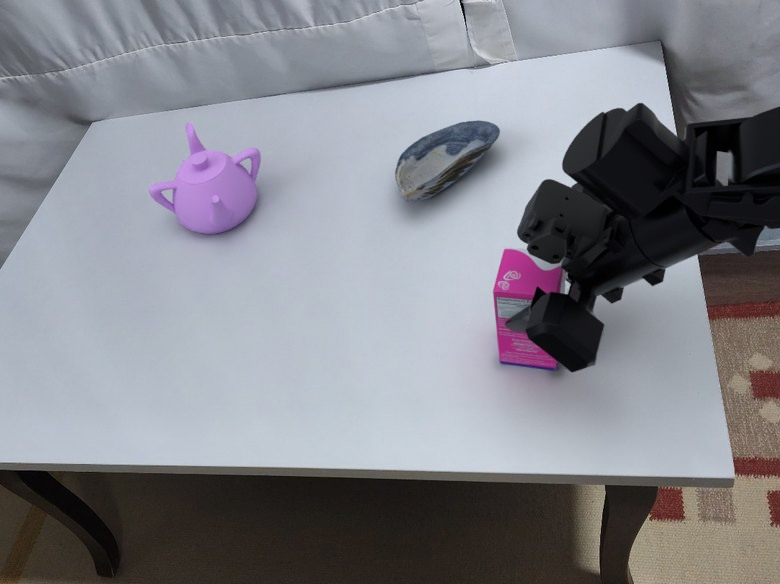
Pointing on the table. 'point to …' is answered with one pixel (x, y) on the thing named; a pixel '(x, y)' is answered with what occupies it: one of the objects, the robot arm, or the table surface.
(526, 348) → the supplement box
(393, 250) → the table surface
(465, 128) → the seashell
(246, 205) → the teapot
